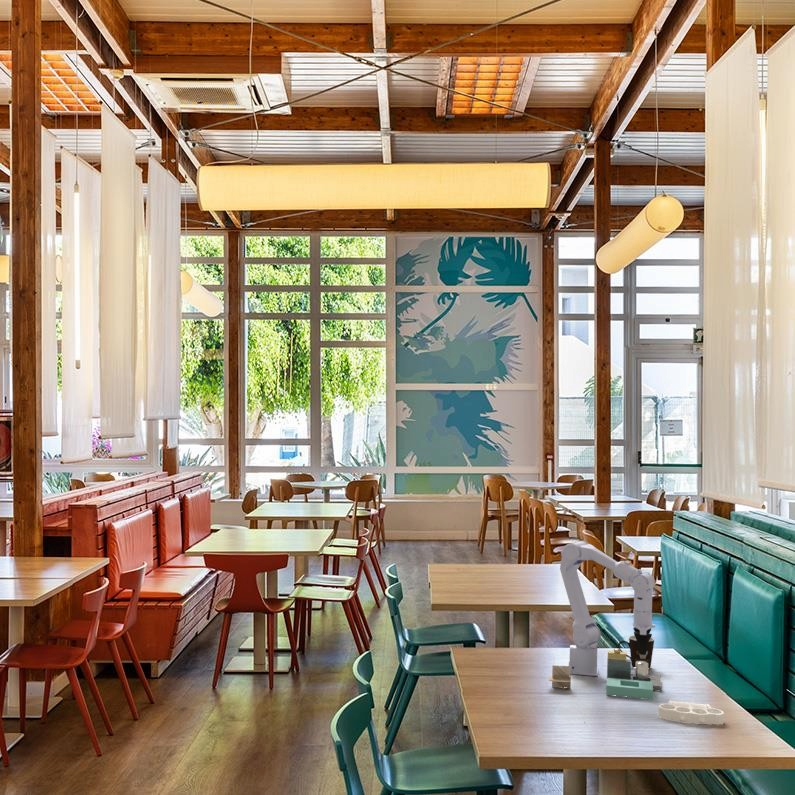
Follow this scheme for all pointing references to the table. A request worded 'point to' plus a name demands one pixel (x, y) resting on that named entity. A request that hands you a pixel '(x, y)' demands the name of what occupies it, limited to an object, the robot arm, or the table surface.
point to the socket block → (628, 672)
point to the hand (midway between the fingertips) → (642, 652)
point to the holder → (630, 688)
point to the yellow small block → (617, 655)
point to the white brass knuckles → (691, 713)
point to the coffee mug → (635, 654)
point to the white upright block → (641, 671)
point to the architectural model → (560, 676)
